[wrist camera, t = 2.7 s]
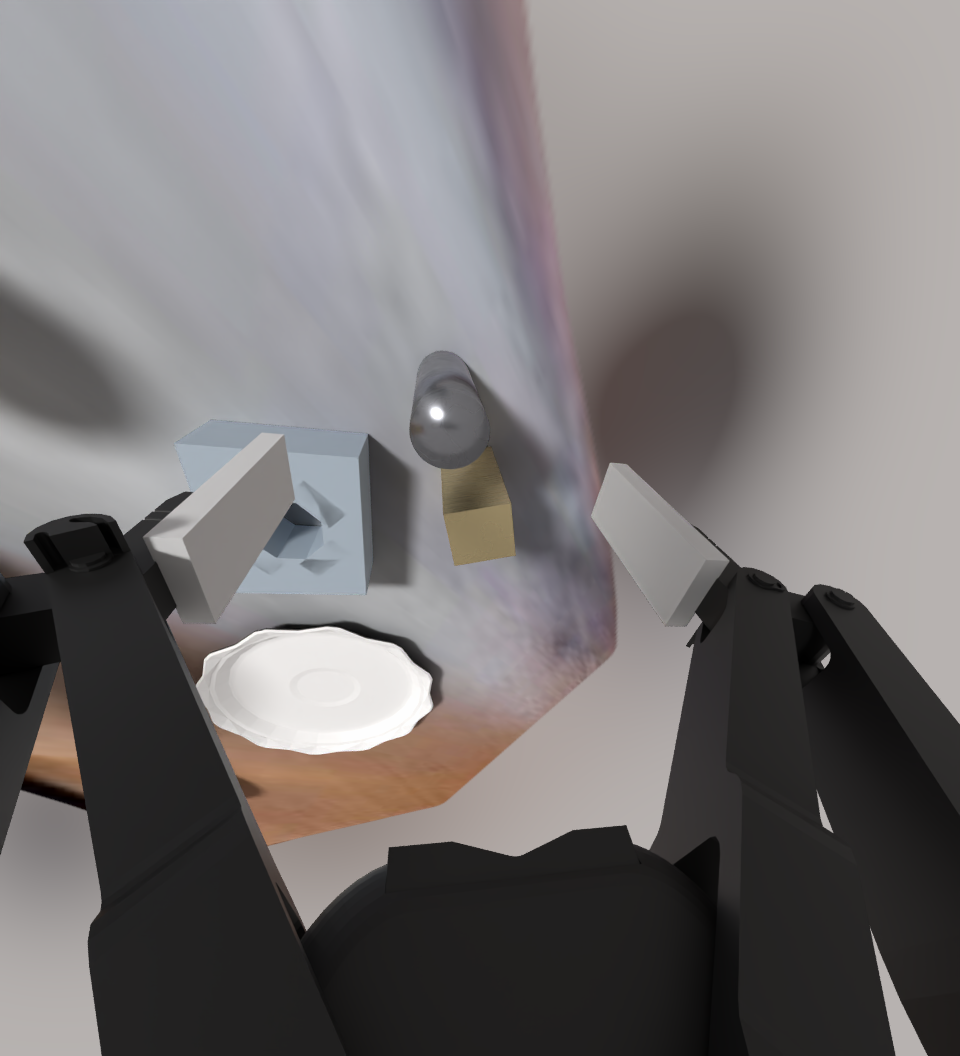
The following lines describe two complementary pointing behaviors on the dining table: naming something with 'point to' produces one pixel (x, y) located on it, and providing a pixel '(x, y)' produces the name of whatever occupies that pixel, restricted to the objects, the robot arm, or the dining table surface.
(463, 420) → the round bit
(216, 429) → the bore block
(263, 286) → the dining table surface
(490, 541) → the square bit
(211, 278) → the dining table surface
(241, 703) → the plate
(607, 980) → the robot arm
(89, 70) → the dining table surface
